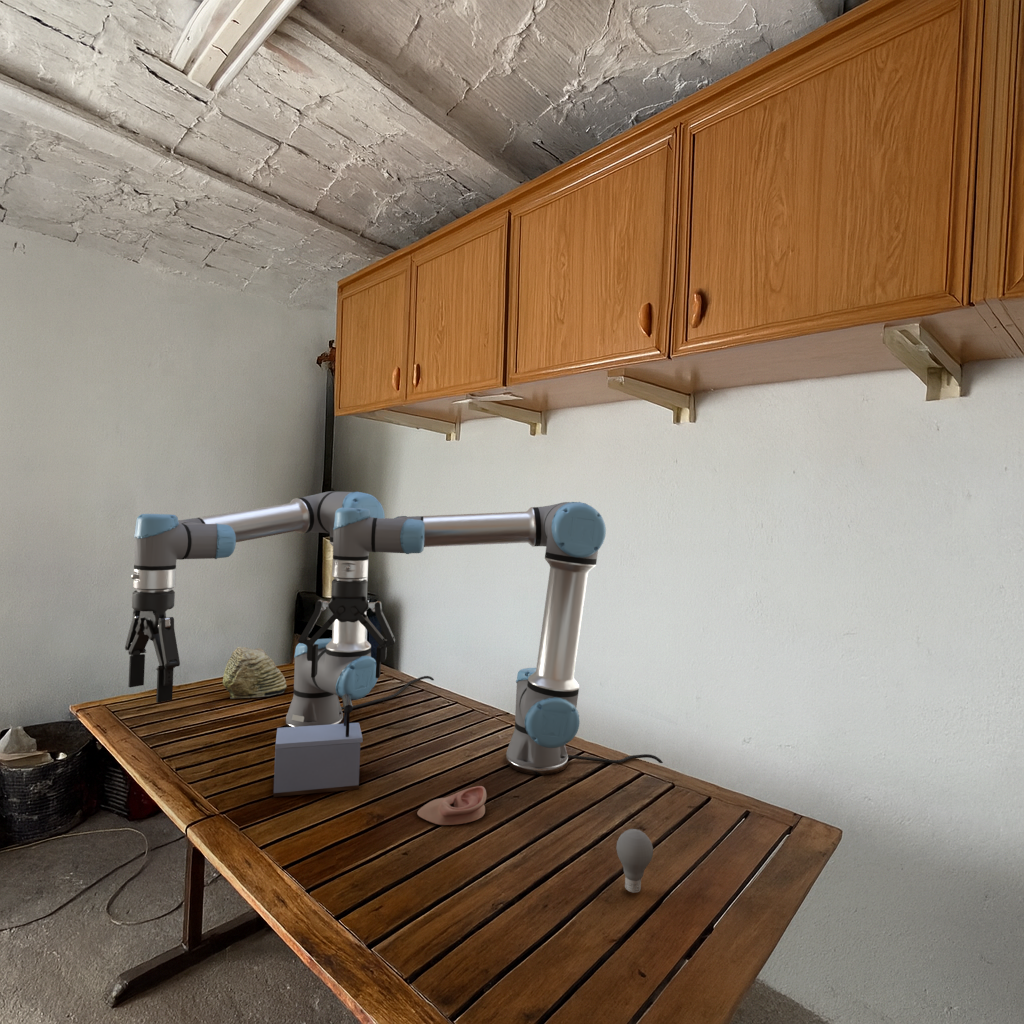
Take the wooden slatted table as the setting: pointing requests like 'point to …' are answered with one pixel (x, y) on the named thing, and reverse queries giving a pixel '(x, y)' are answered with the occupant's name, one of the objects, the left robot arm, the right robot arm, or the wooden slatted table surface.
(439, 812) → the anatomical model
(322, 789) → the chest
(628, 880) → the light bulb
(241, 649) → the fossil
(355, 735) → the lid
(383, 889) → the wooden slatted table surface
